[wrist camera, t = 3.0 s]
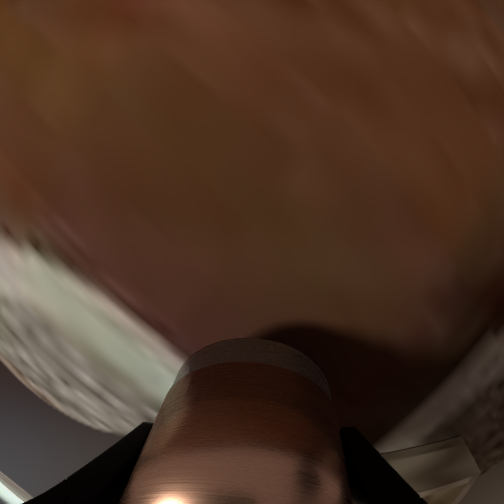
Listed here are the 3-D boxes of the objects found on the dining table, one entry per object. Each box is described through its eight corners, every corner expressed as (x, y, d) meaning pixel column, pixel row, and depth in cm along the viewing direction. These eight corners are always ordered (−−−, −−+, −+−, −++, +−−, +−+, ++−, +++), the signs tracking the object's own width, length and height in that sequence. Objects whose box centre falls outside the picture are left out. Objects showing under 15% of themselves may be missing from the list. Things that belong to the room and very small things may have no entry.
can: (338, 333, 9) (402, 567, 2) (324, 448, 10) (339, 612, 4) (160, 334, 9) (44, 529, 3) (186, 446, 11) (141, 598, 4)
